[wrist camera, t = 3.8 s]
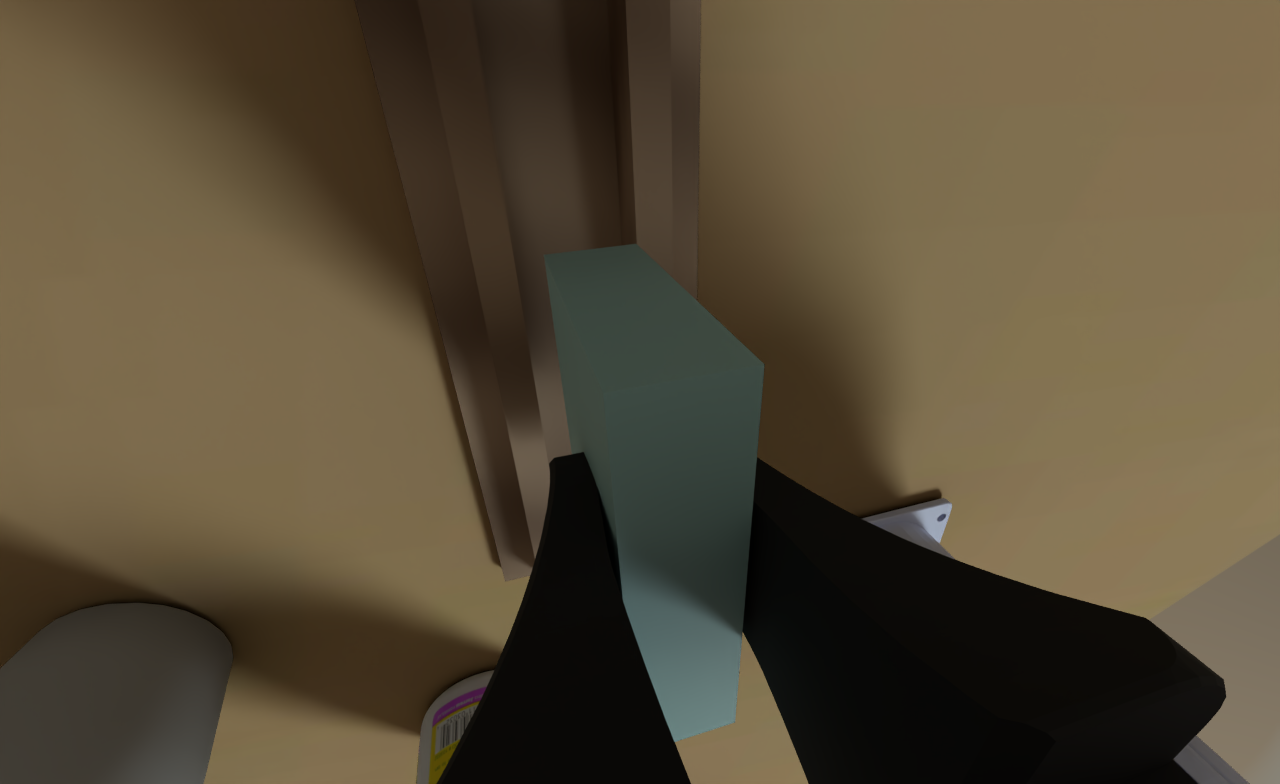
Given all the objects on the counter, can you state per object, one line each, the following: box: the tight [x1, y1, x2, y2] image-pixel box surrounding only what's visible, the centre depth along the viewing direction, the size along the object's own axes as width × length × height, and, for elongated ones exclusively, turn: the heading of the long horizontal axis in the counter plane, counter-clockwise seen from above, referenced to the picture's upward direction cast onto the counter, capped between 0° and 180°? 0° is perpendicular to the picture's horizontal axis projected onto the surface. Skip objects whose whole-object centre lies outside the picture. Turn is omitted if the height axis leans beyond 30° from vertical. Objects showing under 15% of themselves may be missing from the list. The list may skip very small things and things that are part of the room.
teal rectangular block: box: [544, 244, 765, 742], centre depth 11 cm, size 8×2×6 cm, turn 2°
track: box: [355, 0, 701, 581], centre depth 14 cm, size 21×8×7 cm, turn 2°
